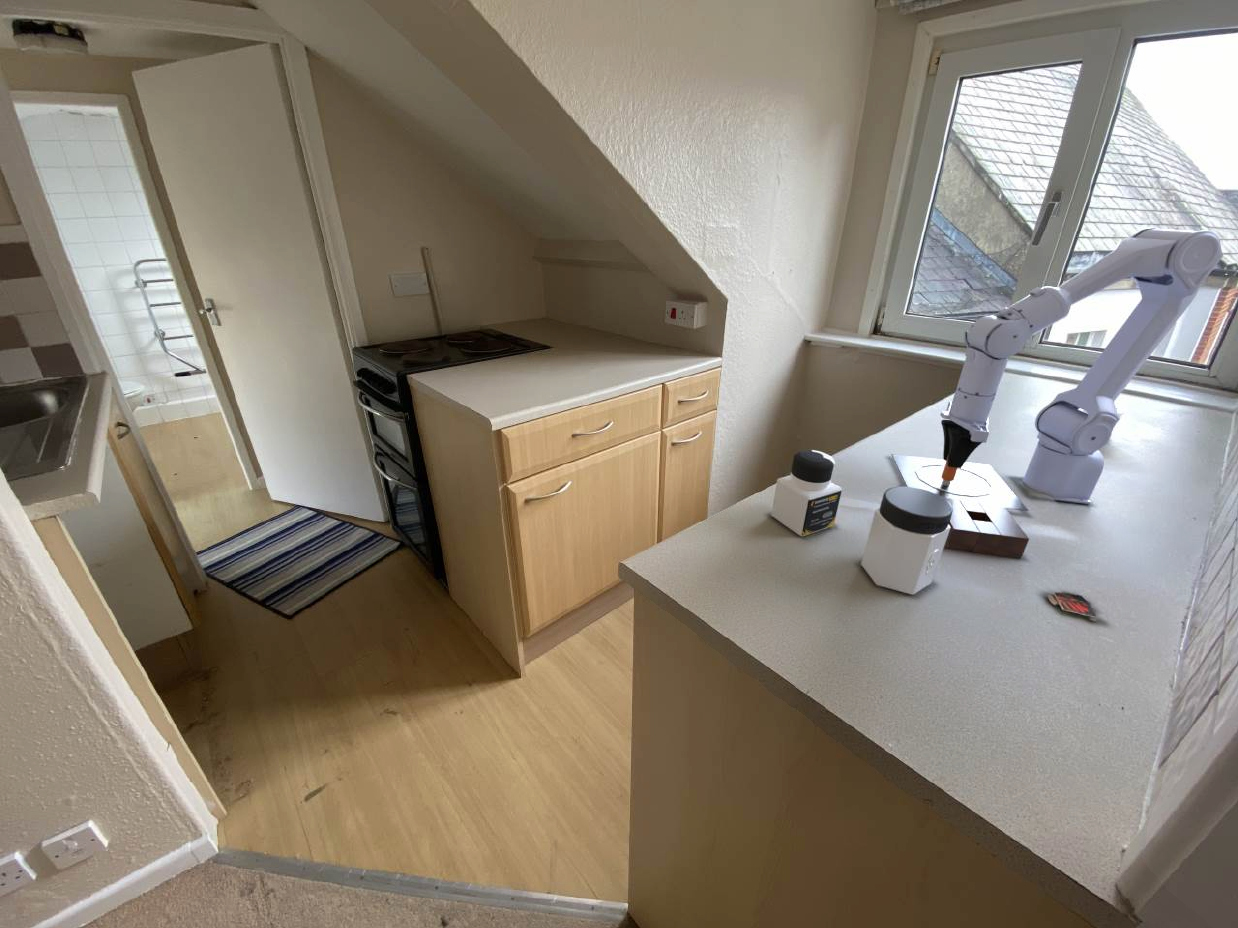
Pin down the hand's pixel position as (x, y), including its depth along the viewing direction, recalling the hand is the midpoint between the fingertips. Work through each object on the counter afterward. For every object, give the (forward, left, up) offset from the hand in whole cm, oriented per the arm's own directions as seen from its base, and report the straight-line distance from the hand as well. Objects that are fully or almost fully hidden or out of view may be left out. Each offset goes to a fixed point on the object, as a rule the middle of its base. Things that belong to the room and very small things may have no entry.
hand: (952, 463), depth 95 cm
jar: (+14, +29, -5) cm, 33 cm away
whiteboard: (-2, -3, -5) cm, 6 cm away
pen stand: (0, +15, -5) cm, 16 cm away
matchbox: (-7, +30, -5) cm, 32 cm away
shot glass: (-40, -37, -5) cm, 54 cm away
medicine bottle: (+26, +18, -6) cm, 32 cm away
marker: (0, 0, -4) cm, 4 cm away
